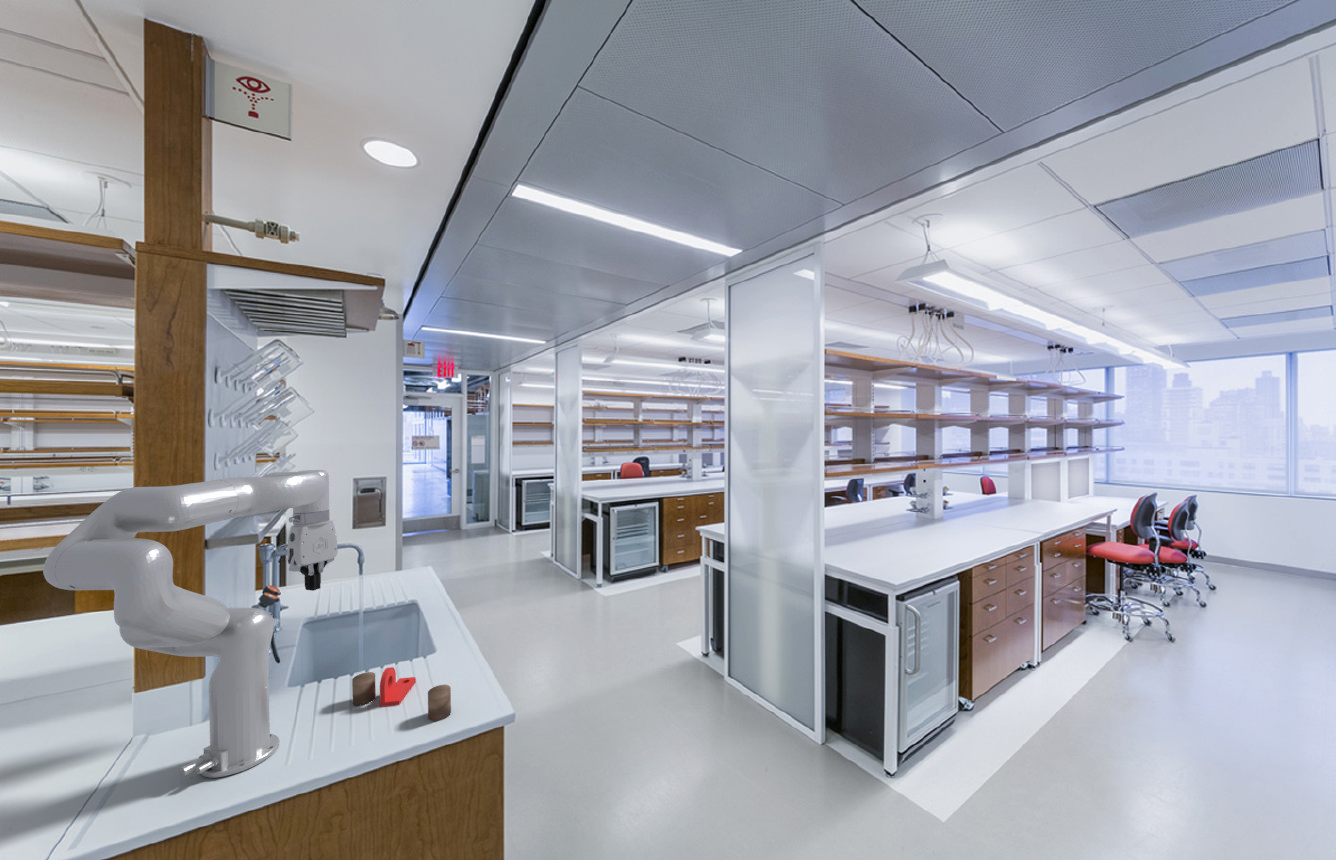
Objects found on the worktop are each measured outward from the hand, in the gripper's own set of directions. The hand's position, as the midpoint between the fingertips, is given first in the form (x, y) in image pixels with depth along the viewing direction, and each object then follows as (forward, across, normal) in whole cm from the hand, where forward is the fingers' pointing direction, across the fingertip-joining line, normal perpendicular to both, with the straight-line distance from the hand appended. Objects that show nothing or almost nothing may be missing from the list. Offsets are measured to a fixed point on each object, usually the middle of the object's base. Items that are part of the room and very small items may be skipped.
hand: (312, 589), depth 123 cm
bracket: (+29, +9, -18) cm, 36 cm away
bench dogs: (+29, +4, -24) cm, 38 cm away
